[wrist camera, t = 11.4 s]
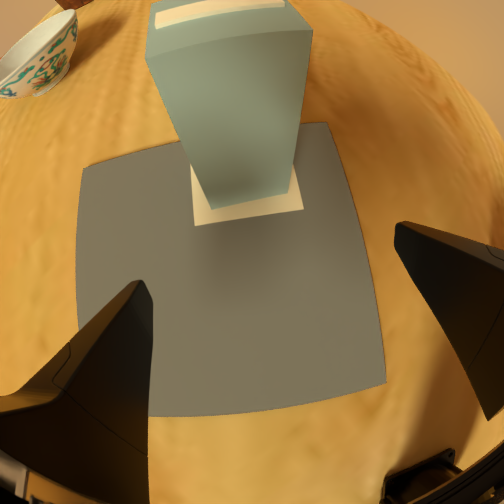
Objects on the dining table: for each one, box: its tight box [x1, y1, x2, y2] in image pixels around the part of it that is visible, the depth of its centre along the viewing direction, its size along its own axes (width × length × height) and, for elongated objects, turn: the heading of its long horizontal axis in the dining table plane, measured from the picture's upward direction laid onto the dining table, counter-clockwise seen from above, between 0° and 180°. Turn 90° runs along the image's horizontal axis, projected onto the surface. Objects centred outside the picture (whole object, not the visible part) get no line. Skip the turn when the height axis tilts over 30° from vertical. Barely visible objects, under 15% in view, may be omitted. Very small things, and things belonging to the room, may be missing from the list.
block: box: [145, 0, 313, 210], centre depth 12 cm, size 5×5×12 cm
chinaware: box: [0, 9, 78, 99], centre depth 21 cm, size 15×15×8 cm
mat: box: [76, 122, 386, 417], centre depth 17 cm, size 20×19×1 cm
